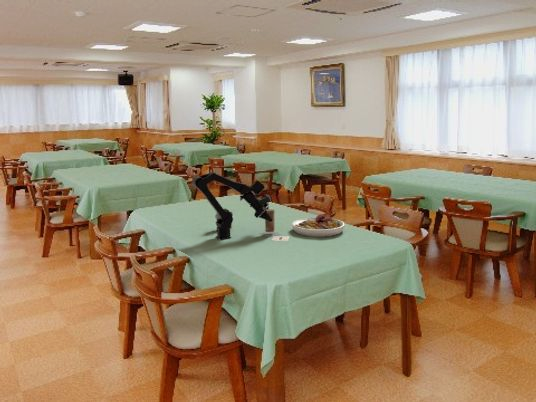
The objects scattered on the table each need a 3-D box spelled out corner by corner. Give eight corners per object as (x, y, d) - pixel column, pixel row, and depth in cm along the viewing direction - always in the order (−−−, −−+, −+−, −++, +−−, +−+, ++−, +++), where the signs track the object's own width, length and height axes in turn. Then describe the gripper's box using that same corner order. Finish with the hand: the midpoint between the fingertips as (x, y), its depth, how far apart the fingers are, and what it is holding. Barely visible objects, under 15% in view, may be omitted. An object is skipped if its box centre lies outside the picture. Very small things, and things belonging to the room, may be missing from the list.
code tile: (271, 240, 265) (271, 240, 265) (273, 236, 274) (273, 236, 274) (288, 241, 264) (288, 240, 264) (289, 236, 273) (289, 236, 273)
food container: (225, 226, 299) (225, 210, 297) (233, 228, 295) (232, 211, 293) (211, 230, 290) (210, 214, 288) (218, 232, 286) (218, 215, 284)
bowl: (342, 239, 267) (343, 225, 266) (288, 237, 273) (288, 223, 271) (345, 226, 296) (345, 213, 294) (296, 224, 302) (296, 212, 300)
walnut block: (265, 231, 276) (265, 210, 274) (266, 229, 280) (266, 209, 278) (273, 232, 275) (273, 211, 273) (274, 230, 280) (274, 209, 278)
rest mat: (267, 237, 272) (267, 236, 272) (259, 234, 280) (259, 233, 280) (281, 235, 277) (281, 234, 277) (272, 231, 284) (272, 231, 284)
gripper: (260, 193, 265) (280, 213, 266) (264, 188, 283) (284, 207, 284) (245, 207, 268) (266, 227, 268) (251, 201, 286) (270, 220, 286)
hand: (272, 220), depth 276 cm, fingers closed on walnut block, 5 cm apart
